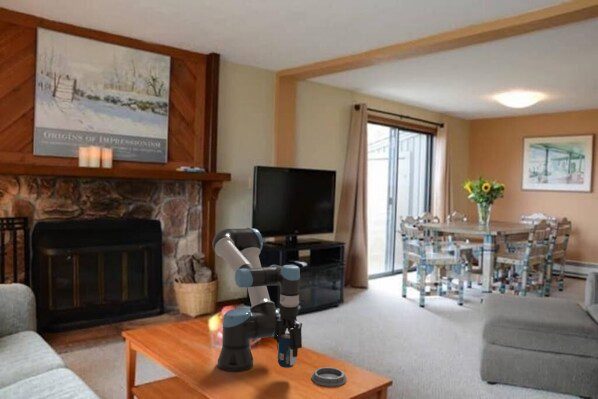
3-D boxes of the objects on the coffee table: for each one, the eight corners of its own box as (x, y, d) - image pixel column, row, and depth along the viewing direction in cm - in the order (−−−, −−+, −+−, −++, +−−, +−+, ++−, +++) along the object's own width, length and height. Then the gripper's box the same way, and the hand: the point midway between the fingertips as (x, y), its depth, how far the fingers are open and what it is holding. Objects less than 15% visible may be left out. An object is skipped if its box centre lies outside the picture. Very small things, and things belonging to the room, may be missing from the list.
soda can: (285, 360, 196) (286, 331, 196) (298, 365, 192) (299, 335, 191) (274, 365, 191) (275, 335, 190) (287, 370, 187) (288, 339, 186)
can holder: (304, 378, 192) (304, 371, 192) (328, 369, 202) (328, 363, 202) (329, 389, 182) (329, 383, 182) (353, 380, 192) (354, 374, 191)
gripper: (266, 300, 195) (263, 355, 196) (298, 312, 181) (296, 371, 182) (280, 298, 200) (277, 351, 201) (313, 308, 186) (310, 367, 187)
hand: (286, 361), depth 191 cm, fingers closed on soda can, 7 cm apart
